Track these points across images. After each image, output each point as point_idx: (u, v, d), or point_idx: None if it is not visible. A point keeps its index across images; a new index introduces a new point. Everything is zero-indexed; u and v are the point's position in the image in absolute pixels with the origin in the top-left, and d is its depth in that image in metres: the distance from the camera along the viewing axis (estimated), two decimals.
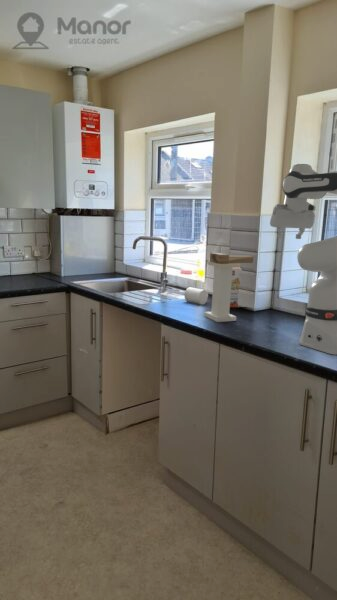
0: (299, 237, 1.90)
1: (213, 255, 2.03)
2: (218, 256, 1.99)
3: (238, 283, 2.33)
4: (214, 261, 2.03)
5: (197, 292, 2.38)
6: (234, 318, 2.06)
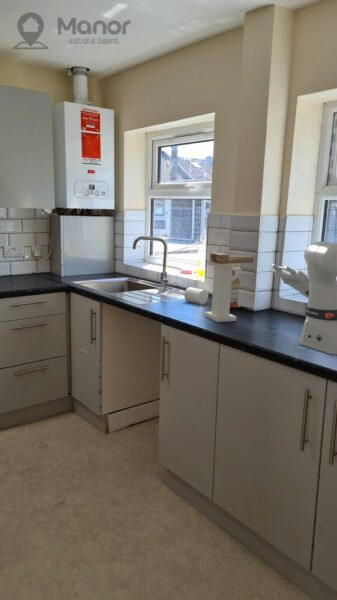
0: (273, 267, 2.23)
1: (213, 255, 2.03)
2: (218, 256, 1.99)
3: (238, 283, 2.33)
4: (214, 261, 2.03)
5: (197, 292, 2.38)
6: (234, 318, 2.06)
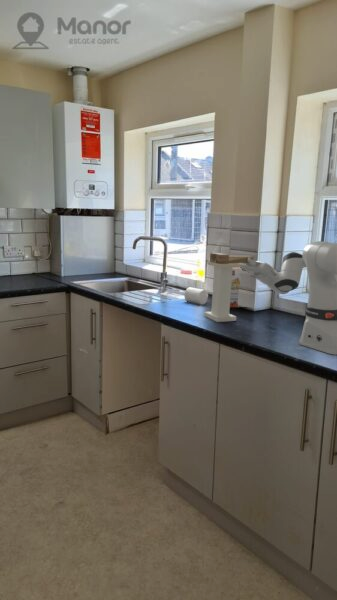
0: None
1: (213, 255, 2.03)
2: (218, 256, 1.99)
3: (238, 283, 2.33)
4: (214, 261, 2.03)
5: (197, 292, 2.38)
6: (234, 318, 2.06)
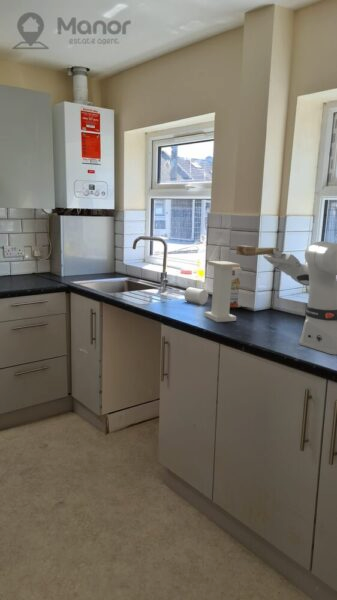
0: None
1: (240, 247, 2.09)
2: (245, 248, 2.05)
3: (238, 283, 2.33)
4: (241, 253, 2.08)
5: (197, 292, 2.38)
6: (234, 318, 2.06)
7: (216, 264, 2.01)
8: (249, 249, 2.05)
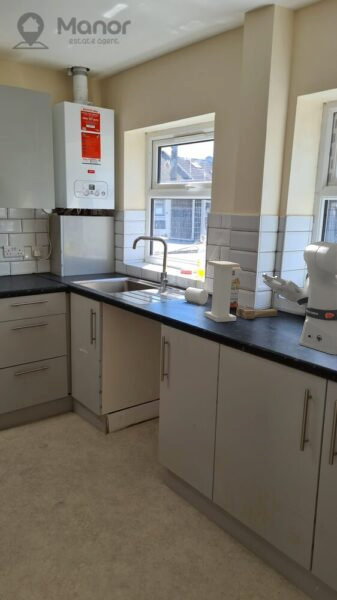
0: (263, 276, 2.22)
1: (239, 310, 2.15)
2: (245, 312, 2.11)
3: (238, 283, 2.33)
4: (240, 316, 2.14)
5: (197, 292, 2.38)
6: (234, 318, 2.06)
7: (216, 264, 2.01)
8: (248, 313, 2.11)
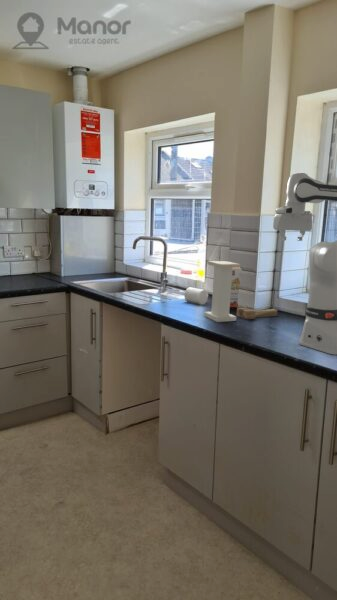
0: None
1: (240, 310, 2.14)
2: (245, 312, 2.11)
3: (238, 283, 2.33)
4: (241, 316, 2.14)
5: (197, 292, 2.38)
6: (234, 318, 2.06)
7: (216, 264, 2.01)
8: (249, 313, 2.11)
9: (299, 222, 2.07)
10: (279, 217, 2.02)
